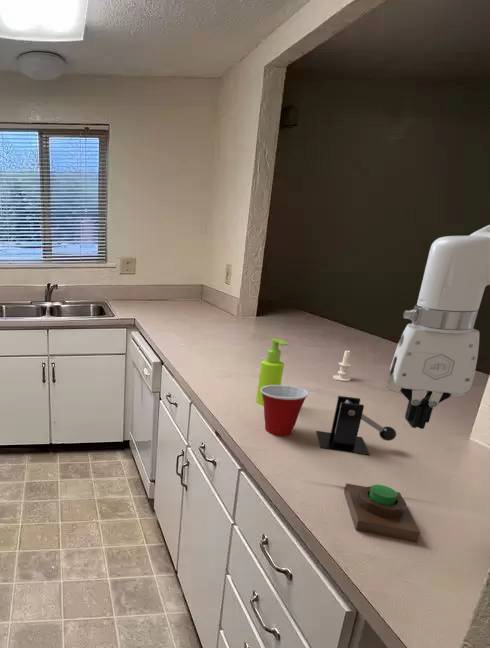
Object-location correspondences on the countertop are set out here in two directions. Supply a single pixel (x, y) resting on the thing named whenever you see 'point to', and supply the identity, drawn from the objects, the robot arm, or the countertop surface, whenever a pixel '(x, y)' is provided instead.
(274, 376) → the soap dispenser
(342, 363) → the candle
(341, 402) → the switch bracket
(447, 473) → the countertop surface
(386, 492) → the light button
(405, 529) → the button block
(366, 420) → the light lever
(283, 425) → the plastic cup
